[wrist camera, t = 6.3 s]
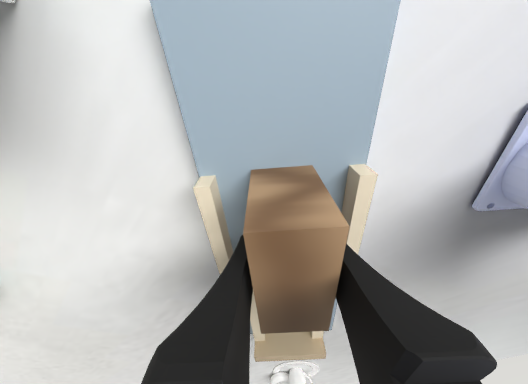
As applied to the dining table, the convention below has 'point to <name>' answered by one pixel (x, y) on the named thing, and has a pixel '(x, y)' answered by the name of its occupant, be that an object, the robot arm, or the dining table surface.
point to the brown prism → (293, 248)
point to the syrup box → (8, 1)
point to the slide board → (277, 110)
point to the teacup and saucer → (293, 374)
